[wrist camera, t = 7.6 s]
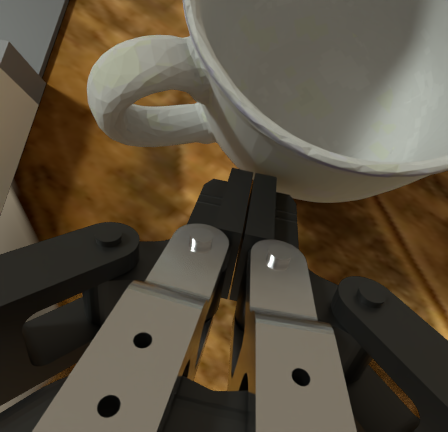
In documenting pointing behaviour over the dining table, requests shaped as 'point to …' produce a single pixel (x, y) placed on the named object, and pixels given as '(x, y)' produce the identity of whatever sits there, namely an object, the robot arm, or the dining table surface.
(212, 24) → the teacup
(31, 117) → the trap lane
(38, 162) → the dining table surface
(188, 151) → the dining table surface
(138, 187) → the dining table surface
